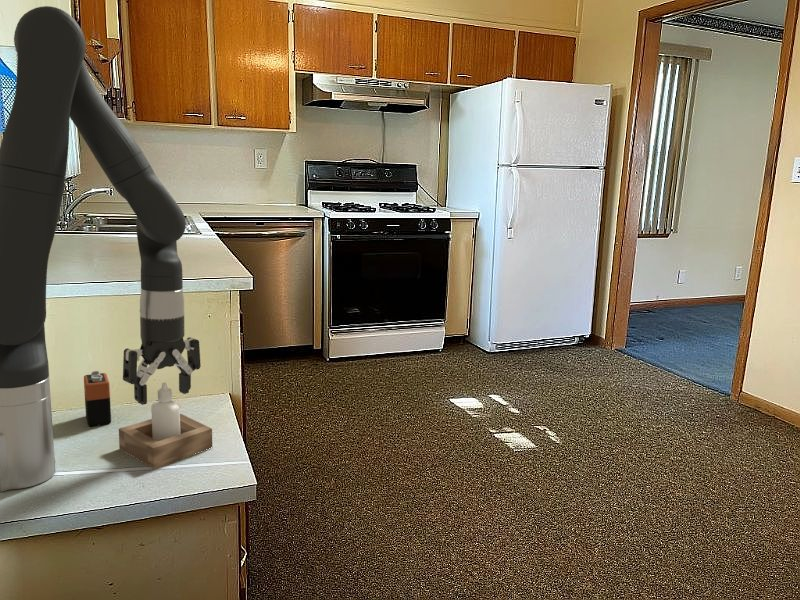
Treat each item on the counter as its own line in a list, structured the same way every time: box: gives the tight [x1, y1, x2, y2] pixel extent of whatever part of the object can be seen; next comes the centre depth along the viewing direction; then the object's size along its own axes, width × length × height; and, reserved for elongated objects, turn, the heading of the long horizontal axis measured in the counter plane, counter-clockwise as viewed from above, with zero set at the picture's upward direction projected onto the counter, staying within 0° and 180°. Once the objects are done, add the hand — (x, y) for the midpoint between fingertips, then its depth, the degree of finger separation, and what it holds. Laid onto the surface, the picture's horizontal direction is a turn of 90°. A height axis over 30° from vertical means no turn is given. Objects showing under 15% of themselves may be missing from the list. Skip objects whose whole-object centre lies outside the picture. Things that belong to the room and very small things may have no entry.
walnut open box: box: [118, 413, 213, 470], centre depth 117 cm, size 12×12×4 cm
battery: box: [83, 370, 112, 427], centre depth 128 cm, size 4×7×10 cm, turn 30°
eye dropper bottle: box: [151, 382, 181, 441], centre depth 116 cm, size 4×6×12 cm
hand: (163, 397), depth 115 cm, fingers open, 8 cm apart
